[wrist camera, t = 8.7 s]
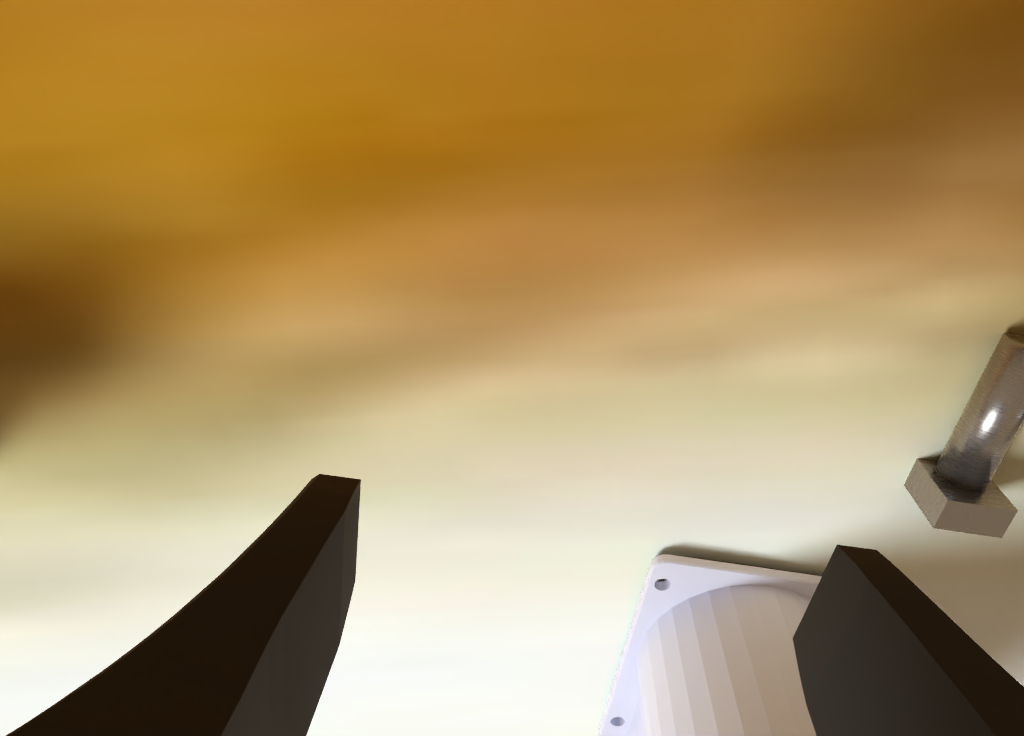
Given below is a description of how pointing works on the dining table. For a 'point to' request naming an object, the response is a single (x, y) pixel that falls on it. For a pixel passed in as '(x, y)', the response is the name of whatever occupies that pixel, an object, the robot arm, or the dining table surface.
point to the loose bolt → (976, 452)
